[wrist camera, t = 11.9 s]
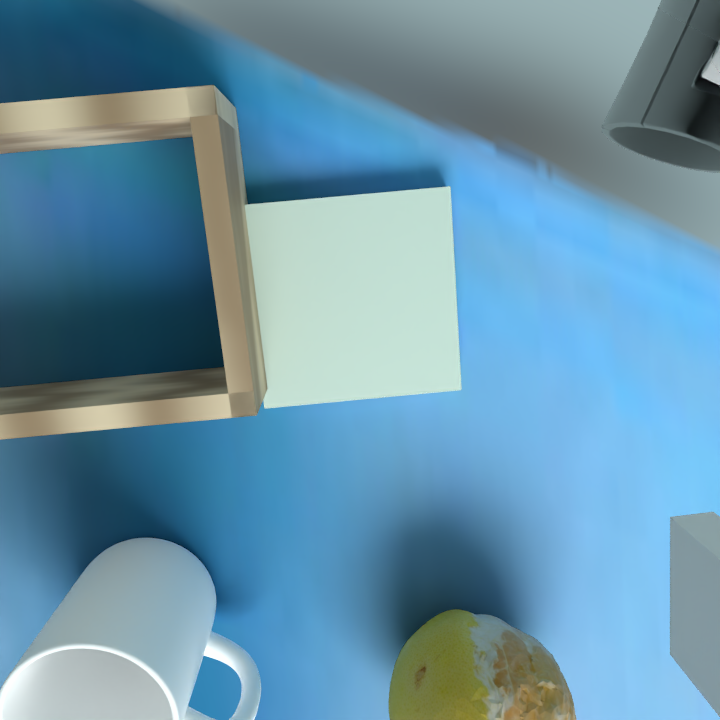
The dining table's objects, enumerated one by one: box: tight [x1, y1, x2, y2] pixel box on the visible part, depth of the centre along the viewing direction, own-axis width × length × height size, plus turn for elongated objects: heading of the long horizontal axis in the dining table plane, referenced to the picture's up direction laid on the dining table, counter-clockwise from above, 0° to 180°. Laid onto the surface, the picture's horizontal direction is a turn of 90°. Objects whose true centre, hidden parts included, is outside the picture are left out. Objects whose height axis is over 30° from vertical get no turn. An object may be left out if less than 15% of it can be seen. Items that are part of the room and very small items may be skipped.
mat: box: [245, 186, 461, 408], centre depth 35 cm, size 11×11×1 cm
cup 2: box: [602, 0, 720, 173], centre depth 38 cm, size 10×9×12 cm
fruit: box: [389, 609, 576, 720], centre depth 36 cm, size 10×11×10 cm
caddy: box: [0, 85, 268, 439], centre depth 32 cm, size 22×15×6 cm
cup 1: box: [0, 538, 261, 720], centre depth 34 cm, size 8×12×10 cm
